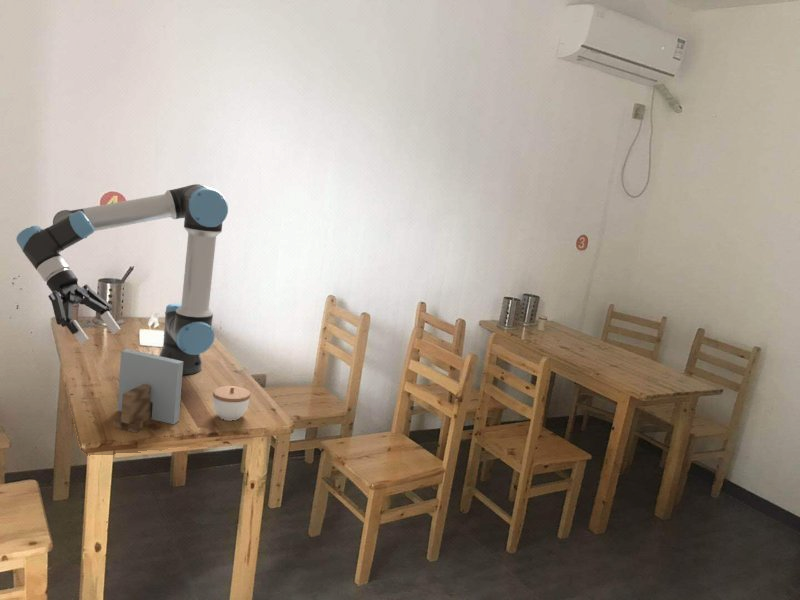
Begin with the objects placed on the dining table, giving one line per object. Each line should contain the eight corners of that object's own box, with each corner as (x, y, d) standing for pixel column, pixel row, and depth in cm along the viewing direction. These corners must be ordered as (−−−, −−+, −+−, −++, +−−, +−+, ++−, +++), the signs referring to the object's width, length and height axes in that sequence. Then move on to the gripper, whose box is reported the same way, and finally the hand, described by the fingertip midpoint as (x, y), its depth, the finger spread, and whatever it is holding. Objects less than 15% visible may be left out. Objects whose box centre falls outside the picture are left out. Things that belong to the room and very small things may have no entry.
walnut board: (160, 401, 198) (162, 370, 196) (180, 406, 196) (183, 375, 194) (113, 426, 176) (115, 392, 174) (135, 432, 175) (138, 397, 173)
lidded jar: (233, 407, 201) (236, 378, 200) (255, 419, 195) (258, 389, 193) (203, 414, 193) (206, 384, 191) (225, 426, 187) (228, 396, 185)
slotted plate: (117, 410, 187) (121, 350, 183) (123, 408, 189) (126, 348, 186) (173, 424, 183) (178, 363, 180) (178, 421, 186) (183, 361, 182)
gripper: (80, 277, 199) (120, 334, 199) (15, 289, 175) (61, 354, 175) (96, 263, 197) (137, 320, 197) (32, 273, 173) (79, 338, 173)
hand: (101, 336), depth 186 cm, fingers open, 13 cm apart
